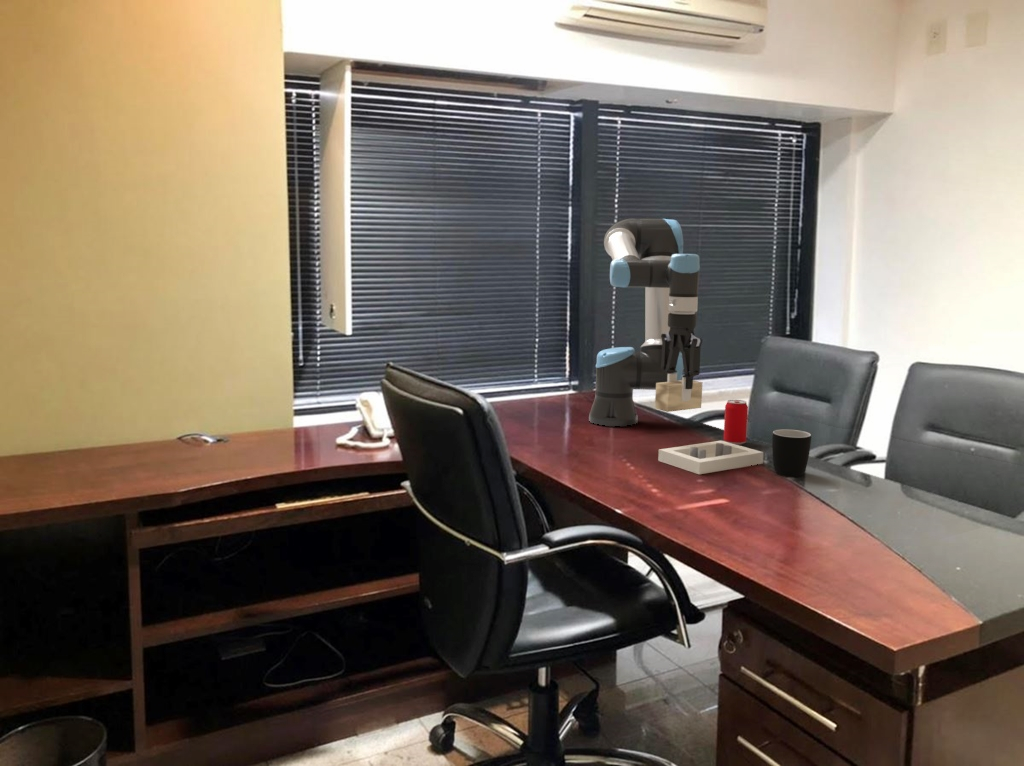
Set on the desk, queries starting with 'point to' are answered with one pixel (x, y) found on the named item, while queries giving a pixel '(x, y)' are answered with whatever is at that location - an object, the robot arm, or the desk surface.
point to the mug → (790, 451)
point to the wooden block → (677, 396)
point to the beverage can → (735, 422)
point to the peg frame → (710, 457)
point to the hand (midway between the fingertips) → (678, 398)
